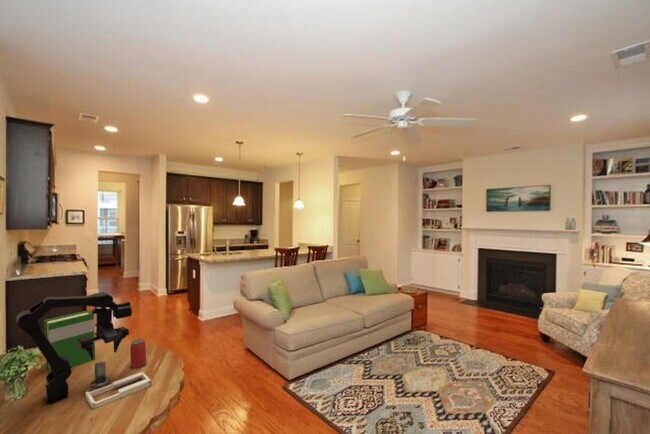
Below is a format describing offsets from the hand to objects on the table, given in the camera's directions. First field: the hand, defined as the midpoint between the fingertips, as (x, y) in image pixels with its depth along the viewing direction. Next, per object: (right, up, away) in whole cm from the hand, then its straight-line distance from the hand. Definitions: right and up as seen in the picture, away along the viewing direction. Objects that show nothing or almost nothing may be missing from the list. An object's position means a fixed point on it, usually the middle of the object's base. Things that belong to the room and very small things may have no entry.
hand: (103, 355), depth 143 cm
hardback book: (-27, -11, +16) cm, 33 cm away
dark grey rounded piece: (-1, -12, -1) cm, 12 cm away
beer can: (+7, -11, +15) cm, 20 cm away
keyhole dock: (+11, -12, -6) cm, 18 cm away
